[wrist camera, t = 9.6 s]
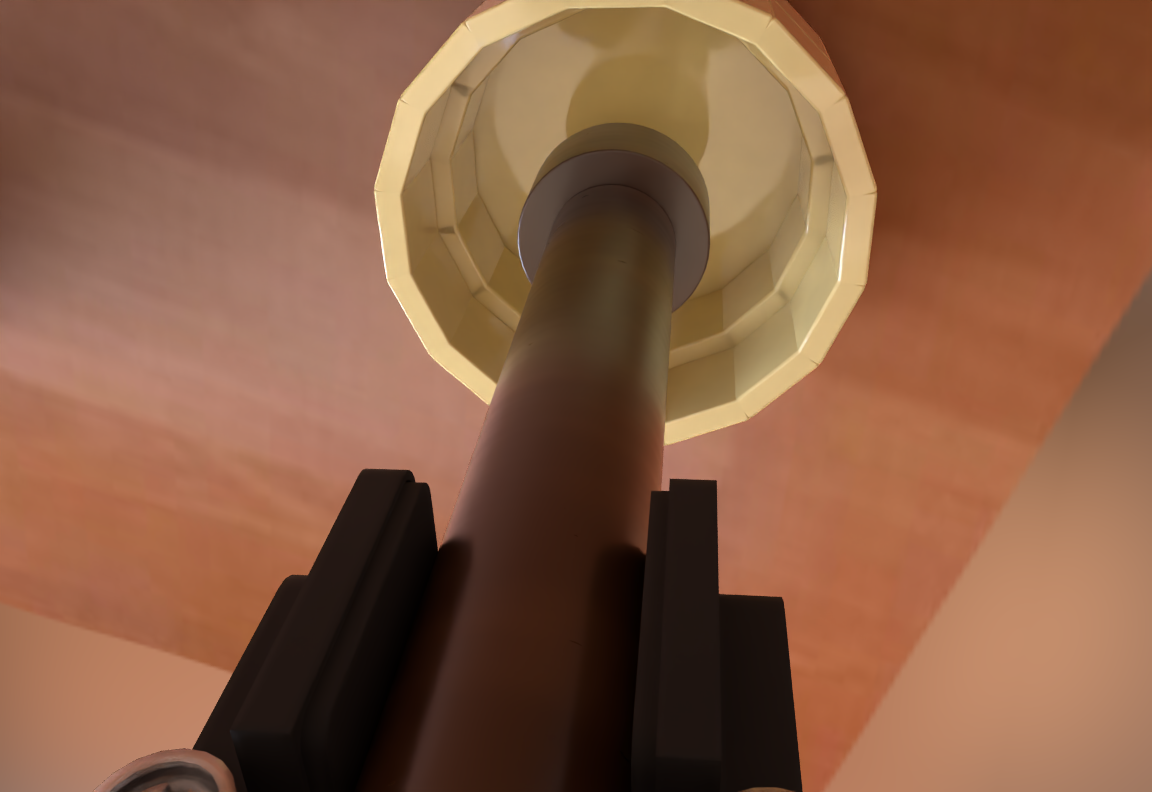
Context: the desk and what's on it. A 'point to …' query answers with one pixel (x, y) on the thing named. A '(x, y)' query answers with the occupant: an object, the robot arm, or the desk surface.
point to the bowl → (674, 108)
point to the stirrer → (556, 493)
